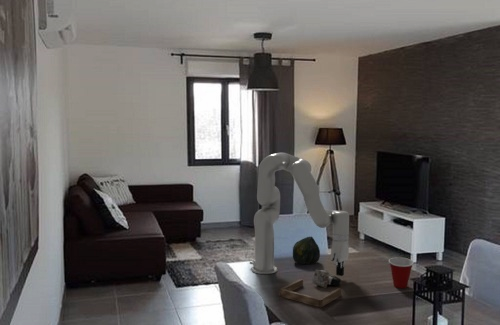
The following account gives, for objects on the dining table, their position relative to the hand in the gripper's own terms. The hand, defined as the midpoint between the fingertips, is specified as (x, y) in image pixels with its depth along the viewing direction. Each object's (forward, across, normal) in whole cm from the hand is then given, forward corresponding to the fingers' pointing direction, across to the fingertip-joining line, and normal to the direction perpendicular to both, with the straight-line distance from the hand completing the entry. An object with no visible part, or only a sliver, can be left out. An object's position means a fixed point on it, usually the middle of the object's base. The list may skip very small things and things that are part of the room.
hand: (340, 275), depth 219 cm
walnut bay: (+2, +27, 0) cm, 27 cm away
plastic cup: (+2, -8, +26) cm, 27 cm away
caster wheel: (+2, +10, -1) cm, 10 cm away
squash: (+2, -14, -27) cm, 30 cm away
